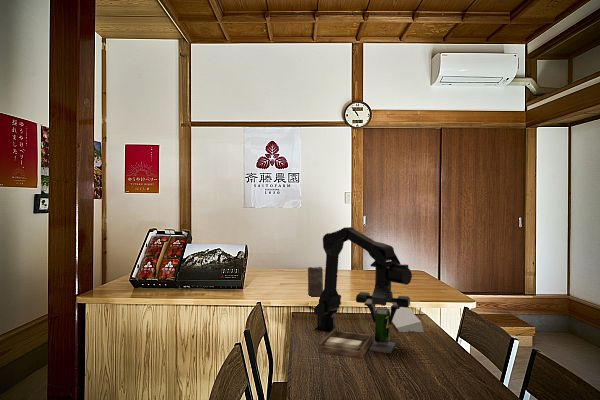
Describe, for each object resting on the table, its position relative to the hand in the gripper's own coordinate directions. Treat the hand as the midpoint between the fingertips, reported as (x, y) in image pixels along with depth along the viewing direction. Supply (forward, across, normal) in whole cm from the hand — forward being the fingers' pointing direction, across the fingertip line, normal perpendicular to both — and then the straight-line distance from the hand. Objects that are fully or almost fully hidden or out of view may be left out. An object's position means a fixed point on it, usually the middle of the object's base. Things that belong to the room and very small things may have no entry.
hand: (382, 323), depth 162 cm
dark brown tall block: (+9, -41, +43) cm, 60 cm away
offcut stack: (+9, -12, -9) cm, 17 cm away
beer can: (+7, 0, 0) cm, 7 cm away
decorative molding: (+10, +1, +38) cm, 40 cm away
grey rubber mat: (+9, 0, 0) cm, 9 cm away
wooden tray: (+9, -12, -4) cm, 15 cm away
